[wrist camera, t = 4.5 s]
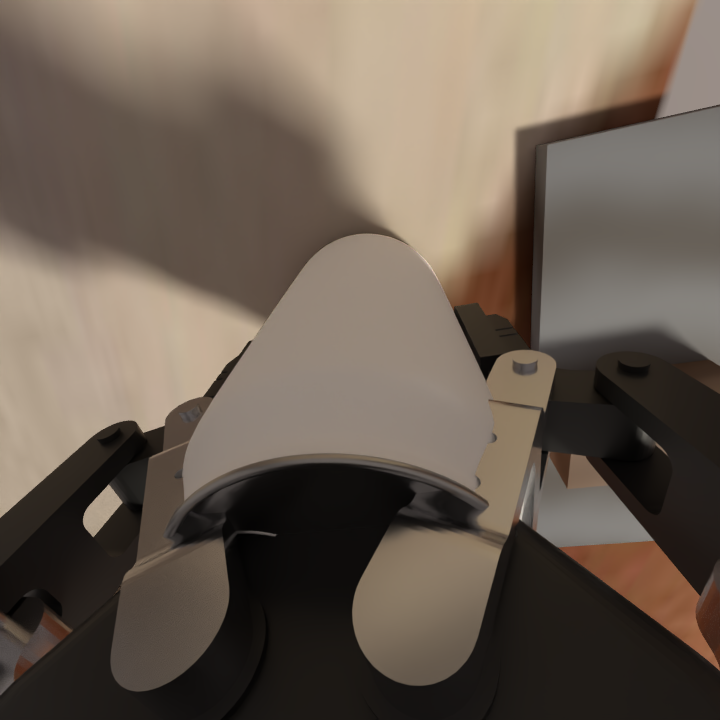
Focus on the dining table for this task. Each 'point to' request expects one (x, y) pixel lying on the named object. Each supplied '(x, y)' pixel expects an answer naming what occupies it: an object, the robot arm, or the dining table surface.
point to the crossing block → (624, 280)
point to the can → (343, 402)
